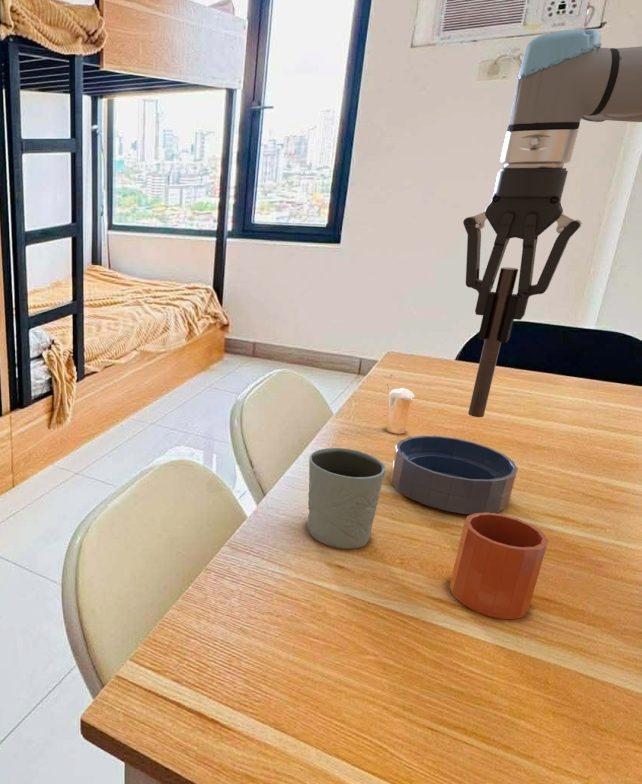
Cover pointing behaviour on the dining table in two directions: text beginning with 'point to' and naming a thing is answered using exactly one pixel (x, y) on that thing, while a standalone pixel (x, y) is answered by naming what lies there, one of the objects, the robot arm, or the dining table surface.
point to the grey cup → (343, 496)
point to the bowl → (453, 474)
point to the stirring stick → (492, 341)
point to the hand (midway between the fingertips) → (493, 338)
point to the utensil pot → (497, 565)
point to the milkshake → (399, 409)
